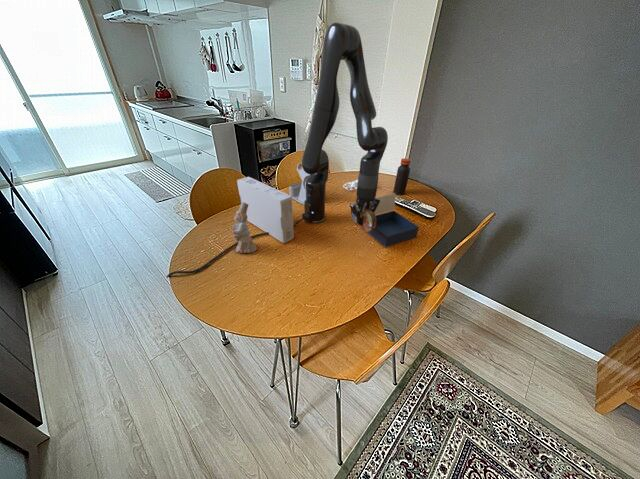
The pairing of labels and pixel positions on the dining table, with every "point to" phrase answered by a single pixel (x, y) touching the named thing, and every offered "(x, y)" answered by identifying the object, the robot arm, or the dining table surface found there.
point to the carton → (393, 229)
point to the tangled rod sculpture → (351, 185)
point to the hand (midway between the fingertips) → (362, 223)
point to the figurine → (242, 231)
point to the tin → (366, 220)
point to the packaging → (267, 208)
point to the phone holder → (299, 186)
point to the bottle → (402, 177)
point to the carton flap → (385, 203)
